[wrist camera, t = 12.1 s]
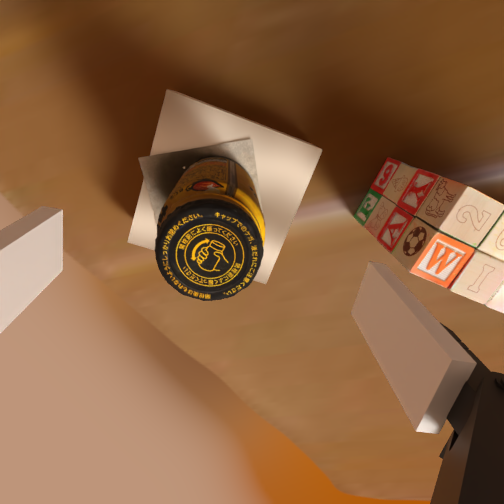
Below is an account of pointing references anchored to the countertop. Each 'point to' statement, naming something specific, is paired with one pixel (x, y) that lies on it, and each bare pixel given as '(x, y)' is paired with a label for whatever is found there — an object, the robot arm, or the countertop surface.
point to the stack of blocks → (438, 230)
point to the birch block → (266, 157)
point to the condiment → (207, 218)
